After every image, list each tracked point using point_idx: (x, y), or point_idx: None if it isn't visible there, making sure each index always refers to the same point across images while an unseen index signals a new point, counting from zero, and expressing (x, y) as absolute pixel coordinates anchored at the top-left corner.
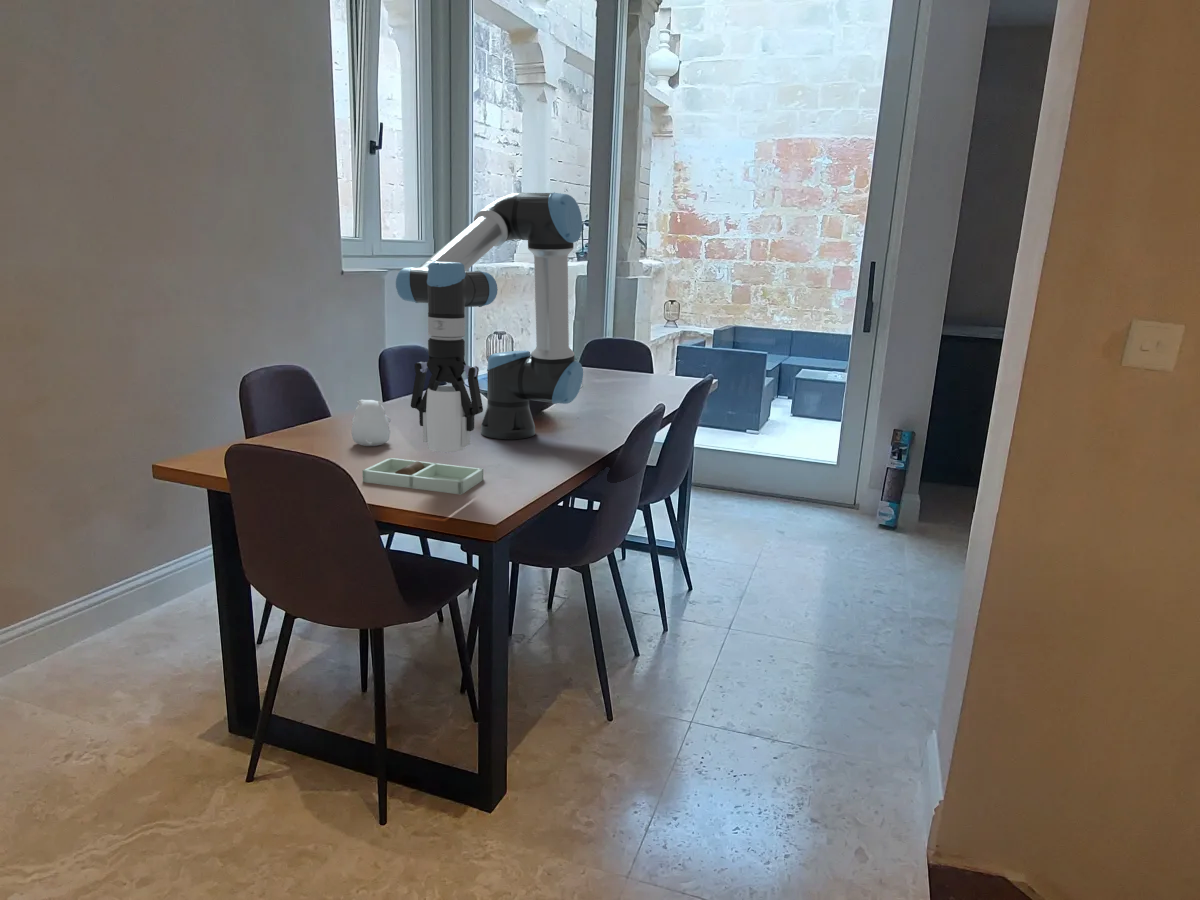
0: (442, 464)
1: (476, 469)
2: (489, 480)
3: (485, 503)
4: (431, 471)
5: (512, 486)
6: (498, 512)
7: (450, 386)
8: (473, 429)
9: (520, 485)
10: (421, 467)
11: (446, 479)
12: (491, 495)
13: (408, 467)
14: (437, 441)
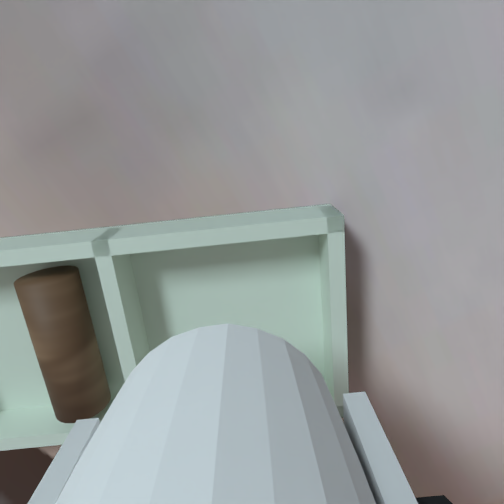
0: (139, 245)
1: (316, 234)
2: (344, 174)
3: (434, 401)
4: (127, 288)
5: (461, 203)
6: (498, 445)
7: None
8: (446, 498)
9: (488, 175)
10: (75, 297)
11: (201, 274)
12: (423, 330)
13: (66, 376)
14: None
